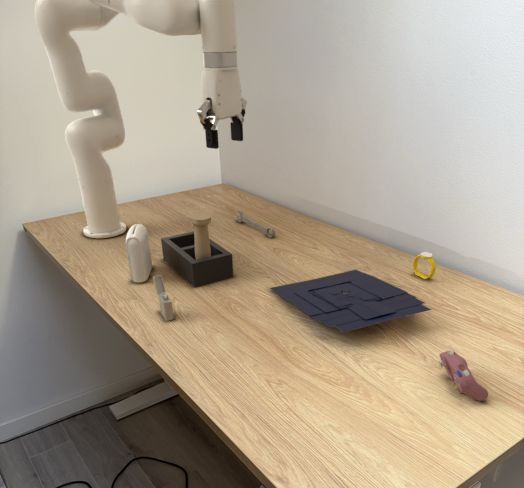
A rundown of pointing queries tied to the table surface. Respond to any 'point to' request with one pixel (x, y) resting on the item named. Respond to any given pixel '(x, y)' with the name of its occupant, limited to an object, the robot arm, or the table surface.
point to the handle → (201, 233)
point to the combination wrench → (255, 224)
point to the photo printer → (138, 253)
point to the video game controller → (462, 376)
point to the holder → (196, 271)
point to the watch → (433, 267)
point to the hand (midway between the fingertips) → (225, 144)
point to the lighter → (163, 298)
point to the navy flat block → (350, 300)
